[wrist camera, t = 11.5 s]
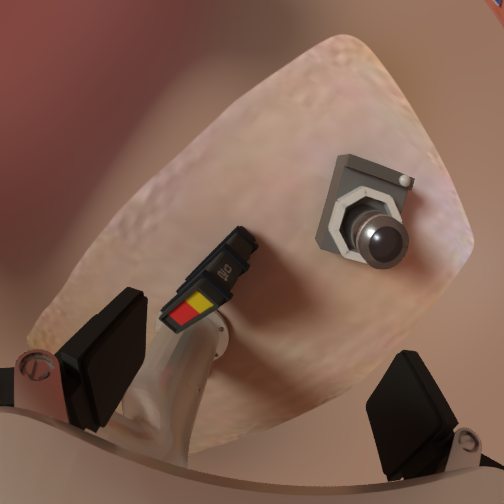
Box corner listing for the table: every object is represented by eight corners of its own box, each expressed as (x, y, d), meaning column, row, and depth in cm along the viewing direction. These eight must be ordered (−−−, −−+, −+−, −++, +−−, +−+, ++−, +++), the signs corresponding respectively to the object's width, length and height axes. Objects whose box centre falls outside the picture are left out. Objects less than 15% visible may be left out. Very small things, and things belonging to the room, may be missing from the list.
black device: (275, 228, 37) (225, 308, 26) (222, 271, 45) (172, 339, 34) (254, 208, 36) (195, 281, 25) (205, 255, 45) (150, 321, 34)
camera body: (371, 254, 39) (387, 270, 32) (315, 238, 39) (323, 253, 32) (395, 176, 35) (416, 179, 28) (337, 155, 35) (351, 153, 28)
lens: (390, 224, 32) (418, 244, 24) (362, 253, 34) (383, 280, 26) (363, 194, 31) (388, 206, 23) (334, 225, 33) (350, 246, 25)
